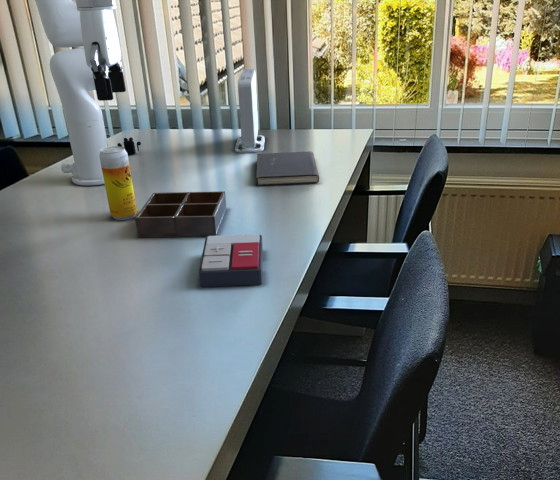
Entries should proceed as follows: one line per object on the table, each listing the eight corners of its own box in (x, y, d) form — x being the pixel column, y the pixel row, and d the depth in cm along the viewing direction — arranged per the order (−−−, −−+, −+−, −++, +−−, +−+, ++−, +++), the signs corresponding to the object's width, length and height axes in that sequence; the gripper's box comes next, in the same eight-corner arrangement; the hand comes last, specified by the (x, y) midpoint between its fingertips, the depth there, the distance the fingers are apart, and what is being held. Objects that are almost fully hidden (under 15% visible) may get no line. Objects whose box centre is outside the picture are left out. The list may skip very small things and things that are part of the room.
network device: (262, 154, 184) (259, 81, 173) (233, 155, 184) (227, 82, 173) (265, 134, 205) (262, 68, 194) (239, 135, 205) (234, 69, 194)
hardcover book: (256, 186, 159) (256, 177, 157) (257, 161, 178) (257, 153, 176) (319, 183, 158) (319, 174, 157) (313, 159, 178) (313, 151, 176)
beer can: (131, 221, 140) (119, 153, 132) (106, 220, 141) (93, 152, 133) (141, 212, 145) (130, 146, 137) (117, 211, 146) (105, 145, 138)
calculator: (198, 268, 108) (205, 232, 120) (200, 290, 111) (207, 253, 123) (260, 266, 108) (261, 230, 120) (262, 288, 110) (262, 251, 123)
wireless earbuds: (142, 153, 191) (139, 136, 188) (142, 155, 189) (139, 137, 186) (119, 154, 190) (116, 137, 188) (118, 156, 188) (115, 139, 185)
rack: (138, 237, 132) (134, 218, 129) (155, 210, 146) (153, 192, 143) (216, 236, 130) (214, 216, 128) (226, 209, 144) (225, 191, 142)
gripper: (90, 0, 128) (106, 89, 137) (61, 4, 114) (81, 104, 123) (125, -2, 128) (139, 88, 137) (101, 2, 113) (118, 102, 123)
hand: (112, 96), depth 130 cm, fingers open, 9 cm apart
